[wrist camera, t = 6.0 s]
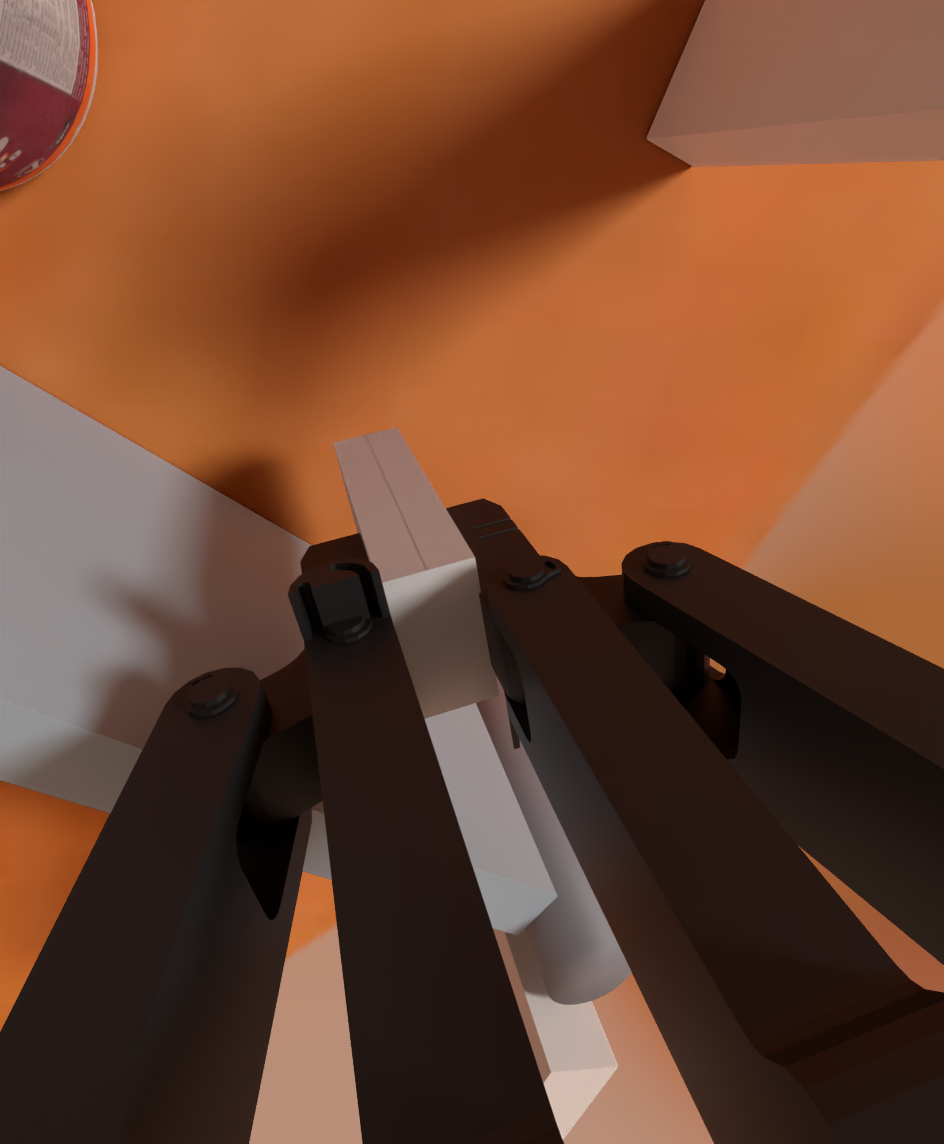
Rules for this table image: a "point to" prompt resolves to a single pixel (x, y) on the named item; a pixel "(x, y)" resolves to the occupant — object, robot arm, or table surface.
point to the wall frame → (743, 138)
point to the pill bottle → (43, 82)
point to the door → (221, 662)
